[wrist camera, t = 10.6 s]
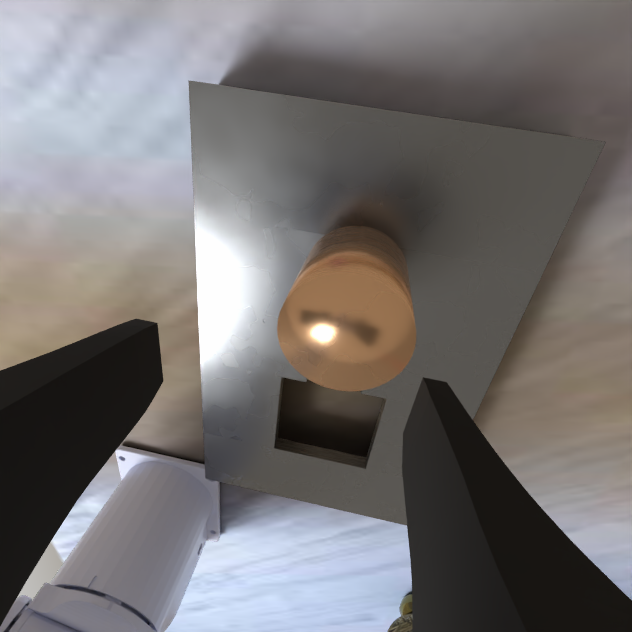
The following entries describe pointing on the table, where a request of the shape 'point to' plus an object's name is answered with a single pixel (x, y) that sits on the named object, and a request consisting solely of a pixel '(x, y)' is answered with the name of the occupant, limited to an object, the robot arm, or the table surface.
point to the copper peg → (350, 312)
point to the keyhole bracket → (377, 213)
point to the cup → (403, 616)
